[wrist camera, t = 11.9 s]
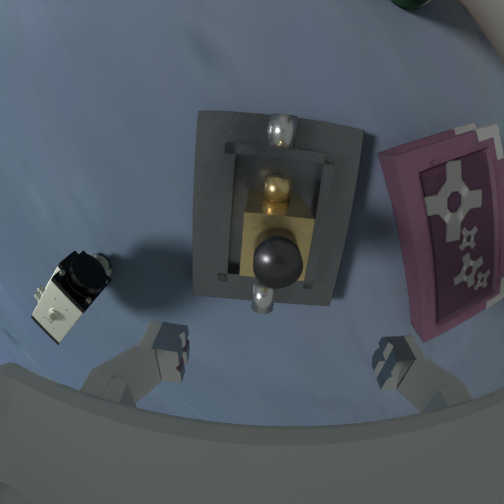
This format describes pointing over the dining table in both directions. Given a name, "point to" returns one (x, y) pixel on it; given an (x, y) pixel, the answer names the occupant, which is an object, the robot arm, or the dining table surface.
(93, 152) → the dining table surface
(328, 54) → the dining table surface
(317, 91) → the dining table surface
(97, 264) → the pneumatic valve
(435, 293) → the book
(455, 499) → the robot arm
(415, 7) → the coffee jar
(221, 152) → the plate
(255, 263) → the brass valve
